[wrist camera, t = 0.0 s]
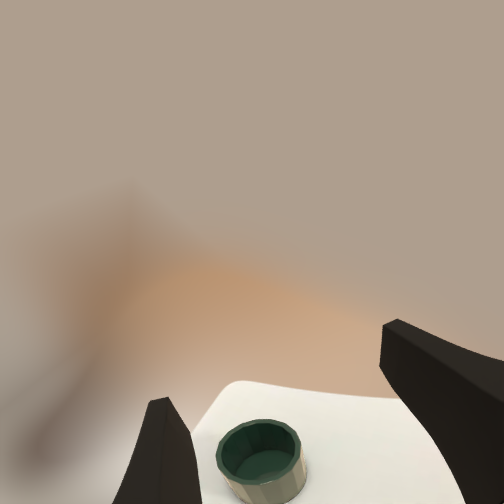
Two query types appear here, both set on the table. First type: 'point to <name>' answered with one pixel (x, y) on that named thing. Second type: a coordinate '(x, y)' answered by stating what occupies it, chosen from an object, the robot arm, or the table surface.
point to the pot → (262, 462)
